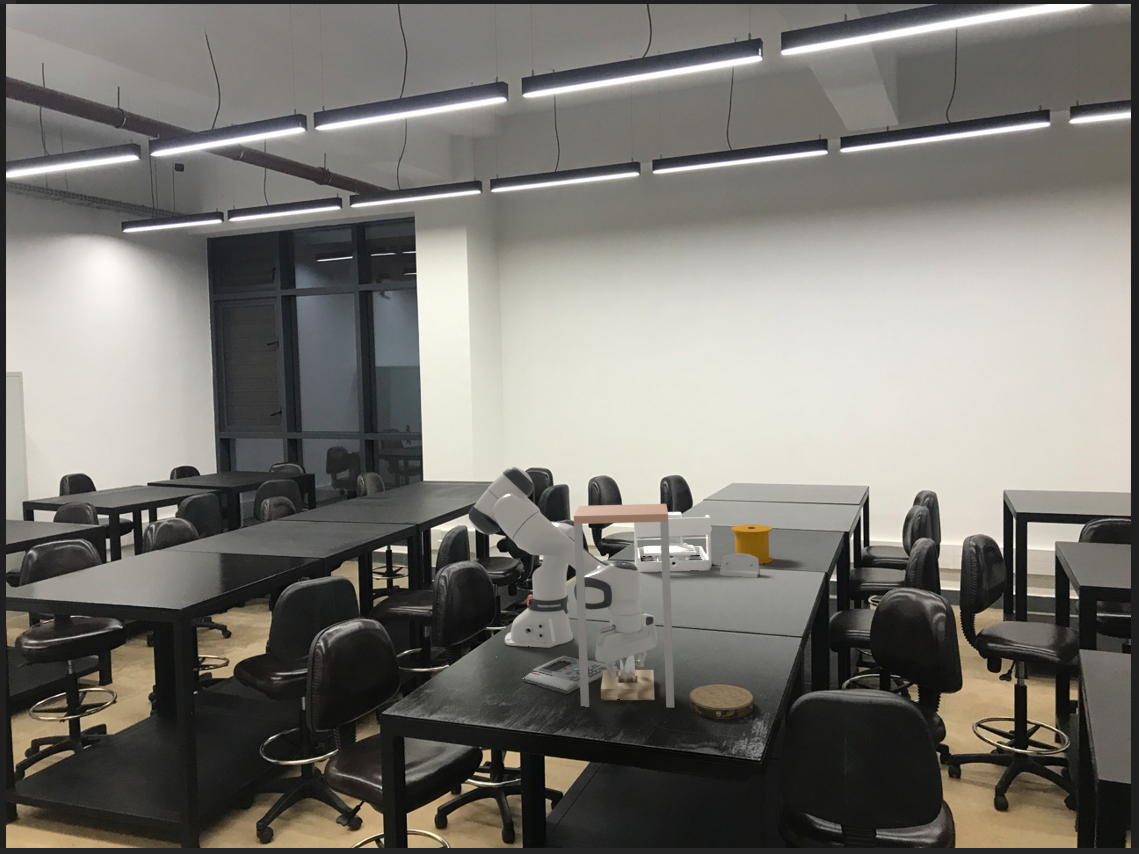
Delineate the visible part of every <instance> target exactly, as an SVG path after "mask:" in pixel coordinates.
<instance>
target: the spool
mask: <svg viewBox="0 0 1139 854" xmlns="http://www.w3.org/2000/svg"><path fill="white" fill-rule="evenodd" d="M730 529H731V531H732V532H734V543H735V548H734V550H735V553H734V554H736V553H741V554H748V555H751V556H754V557H756V558H758V559H759V565H764V564H763V563H765V564H769V562H770V563H772V562H773V557H772V556H770V544H769V543H770V542H769V541H770V539H769V537H770V536H769V535H770V533H769V532H772V531H773V528H772V527H771V526H768V525H764V524H740V525H735V526H732V527H731V528H730ZM771 561H772V562H771Z"/></svg>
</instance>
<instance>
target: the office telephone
mask: <svg viewBox="0 0 1139 854" xmlns="http://www.w3.org/2000/svg"><path fill="white" fill-rule="evenodd" d="M559 660H565V661H570V662H573V663H569V664H568V665H567V666H564V667H562V668H560V669H557V670H556V671H554V670H553V671H552V670H549V669H546V668H545V669H542V668H544V667H546V666H549V665H551V664H553V663H555V662H557V661H559ZM551 666H552V665H551ZM614 666H615V668H616V669H618V666H616V665H614ZM549 667H550V666H549ZM603 670H610V669H609V667H608V665H607V664H602V663H599V662H598V661H594V660H588V683H589V682H591V681H594V680H596V681H597V679H598V680H600V679H602V678H601V677H603ZM618 670H619V669H618ZM533 671H537V672H533ZM539 672H542V673H545V674H542V673H539ZM546 674H549V675H546ZM550 675H552V676H550ZM524 678H525V679H526V680H531V681H534V682H538V683H542V684H545V685H549V686H553V687H556V688H560V689H563V690H567V691H568V690H569V689H571V688H573V687H574V686H576V685H577V686H578V687H580V668H579V658H574V657H570V656H567V655H562V656H559V657H557V658H554V659H552V660H551V661H548V662H545V663H543V664H542V665H539V666H537V667H535V668H533V669H532V671H530V673H528V674H527V675H525V676H524V677H522V679H524ZM599 678H600V679H599ZM522 679H521V680H522ZM594 682H595V681H594Z"/></svg>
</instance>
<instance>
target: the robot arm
mask: <svg viewBox="0 0 1139 854" xmlns="http://www.w3.org/2000/svg"><path fill="white" fill-rule="evenodd" d="M534 488H535V485H534V483H533V480H532V478H531V477H530V475H529V473H528V472H527V471H525V470H523V469H521V468H518V467H516V466H510V467H508V468H506V469H505V470H504V471H502V474H501V475H500V476H498V477H497V478H496V479H495V480H494V481H493V482H492V483H491V484H490V485H489V486H488V487H487V489H485V491H484V492H483V493H482V494H481V496H480V497H479V499H478V500H477V501H476V502H475V504H473V505H472V506H471V508H470V509H469V511H468V519H469V521H470V523H471V525H472V527H473V528H474V529H475V530H476V531H478V532H479V533H482V534H484V535H486V536H492V535H494V534H497V533H500V531H501V530H502V532H504V534H506V536H508V538H509V539H510V540H512V542H514V543H515V544H516V546H517V548H518V549H520V550H522V551H525V552H526V553H528V554H530V555H531V556H532V555H533V556H542V561H541V562H542V563H541V566H539V567H537V568H536V569H535V570H534V571H533V573H532V575H531V577H532V578H531V579H532V594H529V595H528V596H527V598H526V602H527V604H526V605H527V608H526V609H524V610H523V611H522V612H521V613H520V614H519V615H517V616H516V617H515V619H514V620H513V622H512V624H511V630H510V632H508V633H507V634H506V635H505V637H504V643H505V644H506V645H507V646H512V647H513V646H514V647H528V646H529V647H531V648H533V647H534V648H548V649H550V648H552V647H555V646H557V645H562V644H565V643H566V644H567V643H568V642H570V641H572V640H573V639H574V634H573V632H572V628H571V624H570V618H569V611H570V604H569V603H570V602H569V595H568V594H567V574H568V568H569V566H571V567H572V568H573V569H574V570H575V571H576V564H575V538H574V525H571V524H568V523H566V522H559V521H558V522H557V521H551V520H549V519H548V518H547V517H546V516H545V515H543V514H542V512H541V510H540V508H539V506H538V505H536V503H534V502H533V501H532V500H531V499H529V498H528V497H530V496H532V495H531V494H532V493H533V492H534ZM583 554H584V580H585V607H586V610H600V609H601V610H603V609H606V608H607V609H608V615H609V617H608V618H609V619H608V620H609V626H606V627H603V628H601V629H600V631H598V633H597V635H596V642H595V660H596V662H599V663H602V664H607V665H608V667H609V669H610V673H611V676H612V677H616V676H619V670H620V669H616V668H615V666H616V663H617V661H620V659H623V658H626V657H628V656H631V655H635V656H636V655H638V657H637V660H636V659H635V668H638V669H641V668H644V666H645V664H644V663H645V660H646V658H647V655H648V654H647V653H648V652H647V651H649V650H653V649H655V648H656V646H657V643H658V634H657V631H658V630H657V626H656V625H655V624H656V621H657V618H656V616H655V615H652V614H649V613H645V612H642V606H641V597H642V587H641V577H640V572H639V571H638V569H637V567H636V566H635V564H633V563H631V562H629V561H625V560H615V561H611V562H610V563H607V562H605V561H602V560H600V559H598V558H597V557H595V556H594V555H593V554H592V553H591V552H590V551H589V550H587V549H586V548H584V547H583ZM573 594H574V599H575V600H576V601H577V590H576V583H575V585H574V588H573Z"/></svg>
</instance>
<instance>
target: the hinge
mask: <svg viewBox="0 0 1139 854" xmlns="http://www.w3.org/2000/svg"><path fill="white" fill-rule="evenodd" d="M719 569H720V570H719V576H725V577H728V576H729V577H739V576H741V577H743V578H754V577H759V576H761V571H760V570H761V569H760V564H759V559H758V558H756V557H754V556H751V555H748V554H741V553H730V554H725V555H723V556H722V560H721V564H720V568H719Z"/></svg>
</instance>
